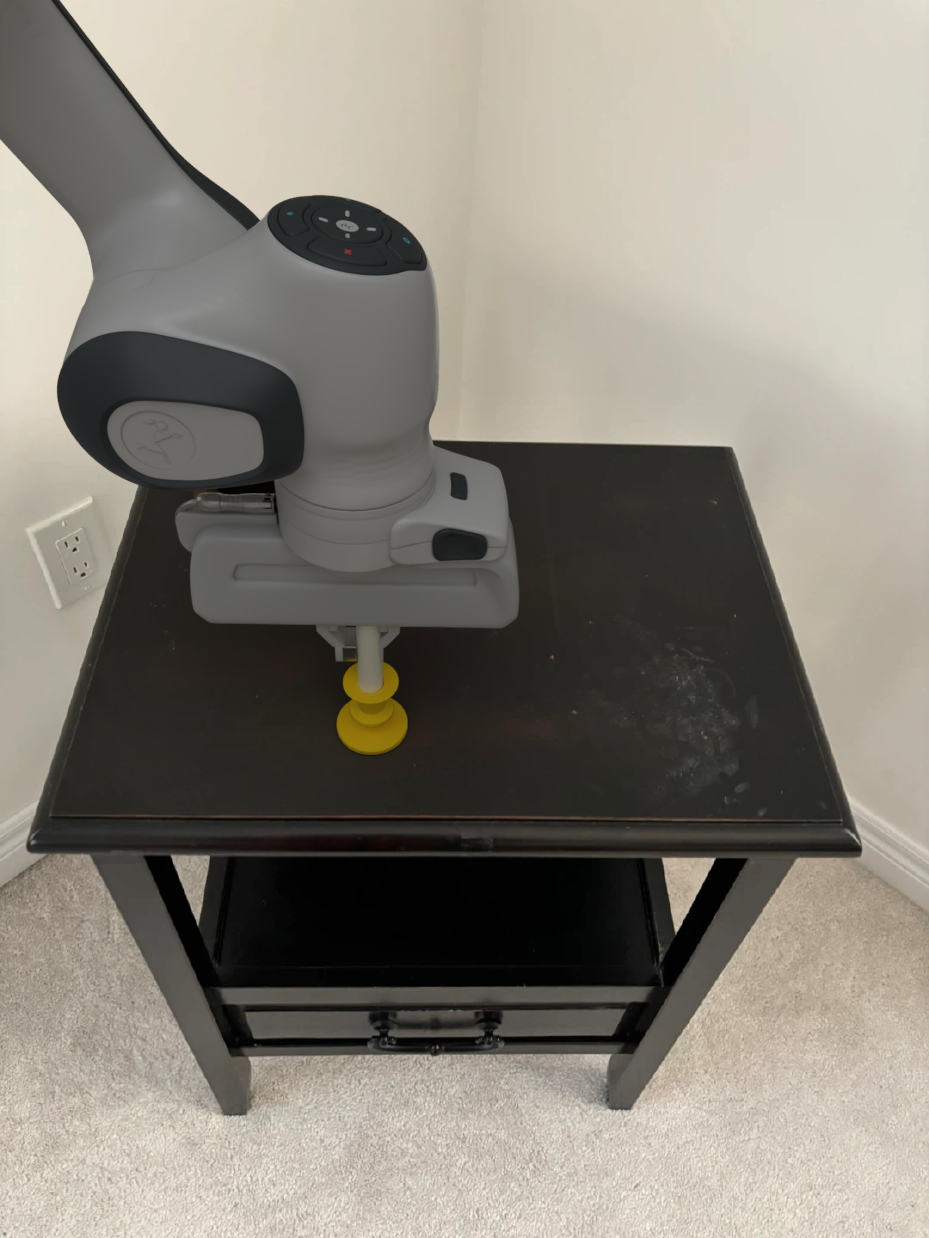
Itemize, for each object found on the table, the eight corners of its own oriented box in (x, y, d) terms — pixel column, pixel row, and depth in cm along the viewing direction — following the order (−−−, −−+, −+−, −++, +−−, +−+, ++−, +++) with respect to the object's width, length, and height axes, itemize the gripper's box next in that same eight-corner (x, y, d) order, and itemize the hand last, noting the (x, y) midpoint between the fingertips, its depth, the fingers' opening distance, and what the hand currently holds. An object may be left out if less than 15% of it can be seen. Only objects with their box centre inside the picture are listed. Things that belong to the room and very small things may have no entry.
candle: (339, 759, 67) (327, 613, 55) (334, 701, 70) (321, 552, 58) (412, 751, 67) (415, 605, 56) (402, 694, 71) (404, 546, 59)
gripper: (158, 532, 50) (197, 689, 60) (535, 541, 51) (510, 693, 62) (178, 458, 54) (211, 617, 65) (526, 468, 56) (504, 622, 66)
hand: (360, 654), depth 63 cm, fingers closed on candle
